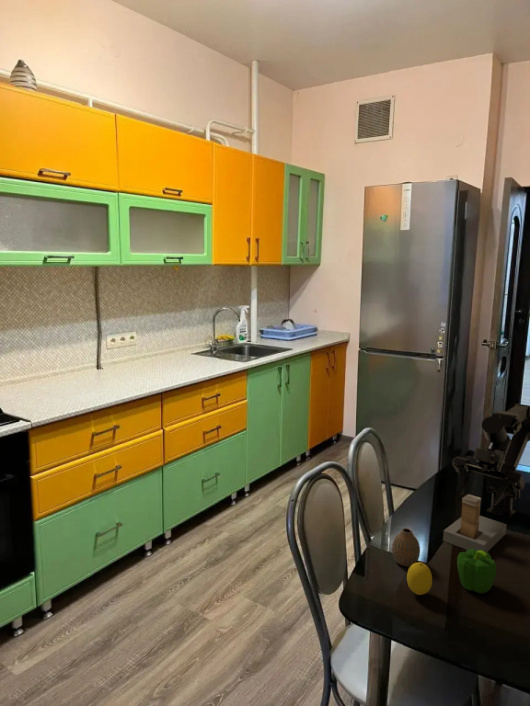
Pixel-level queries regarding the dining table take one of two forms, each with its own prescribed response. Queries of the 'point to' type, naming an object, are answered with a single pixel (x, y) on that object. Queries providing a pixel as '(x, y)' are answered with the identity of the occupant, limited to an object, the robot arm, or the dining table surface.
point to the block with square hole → (486, 539)
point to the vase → (406, 548)
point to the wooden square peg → (470, 516)
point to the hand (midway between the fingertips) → (477, 499)
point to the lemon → (419, 578)
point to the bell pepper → (476, 570)
